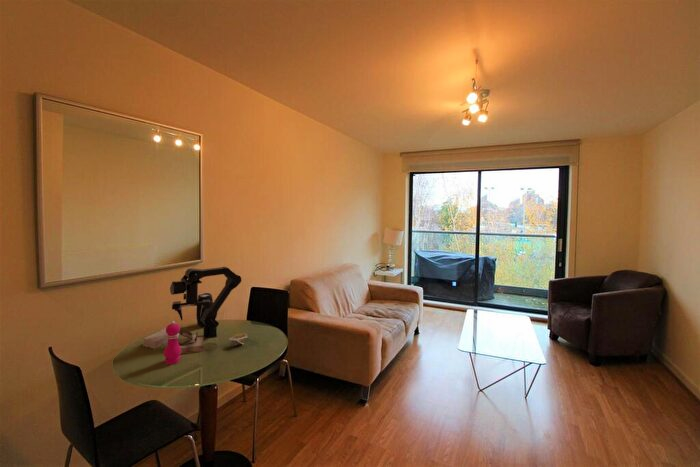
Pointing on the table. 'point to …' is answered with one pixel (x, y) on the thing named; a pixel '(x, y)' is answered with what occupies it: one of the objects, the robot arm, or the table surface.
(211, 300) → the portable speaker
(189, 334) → the eagle figurine
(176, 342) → the pepper mill
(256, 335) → the table surface
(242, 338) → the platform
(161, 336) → the brick
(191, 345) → the plinth
